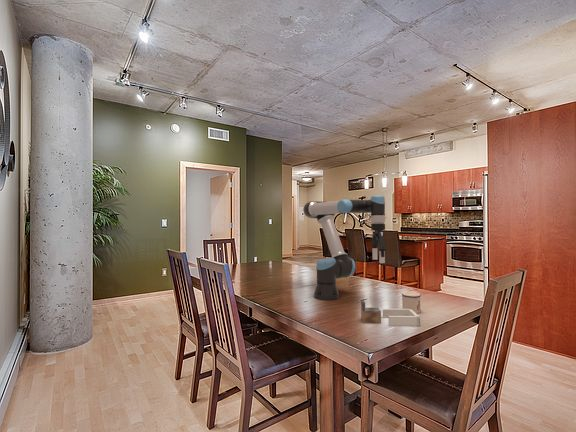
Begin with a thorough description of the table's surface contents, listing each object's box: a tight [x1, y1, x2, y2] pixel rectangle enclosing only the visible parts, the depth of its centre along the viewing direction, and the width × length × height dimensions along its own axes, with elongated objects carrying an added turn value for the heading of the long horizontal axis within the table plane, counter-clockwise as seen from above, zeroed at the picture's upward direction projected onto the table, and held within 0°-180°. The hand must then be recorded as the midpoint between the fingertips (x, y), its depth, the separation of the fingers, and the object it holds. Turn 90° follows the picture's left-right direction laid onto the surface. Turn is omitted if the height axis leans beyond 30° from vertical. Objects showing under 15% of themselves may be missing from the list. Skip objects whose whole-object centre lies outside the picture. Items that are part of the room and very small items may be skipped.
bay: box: [382, 308, 421, 327], centre depth 145 cm, size 14×12×4 cm
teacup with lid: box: [401, 287, 421, 315], centre depth 161 cm, size 12×9×12 cm
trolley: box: [360, 299, 382, 324], centre depth 146 cm, size 8×6×9 cm
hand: (378, 261), depth 173 cm, fingers open, 13 cm apart
